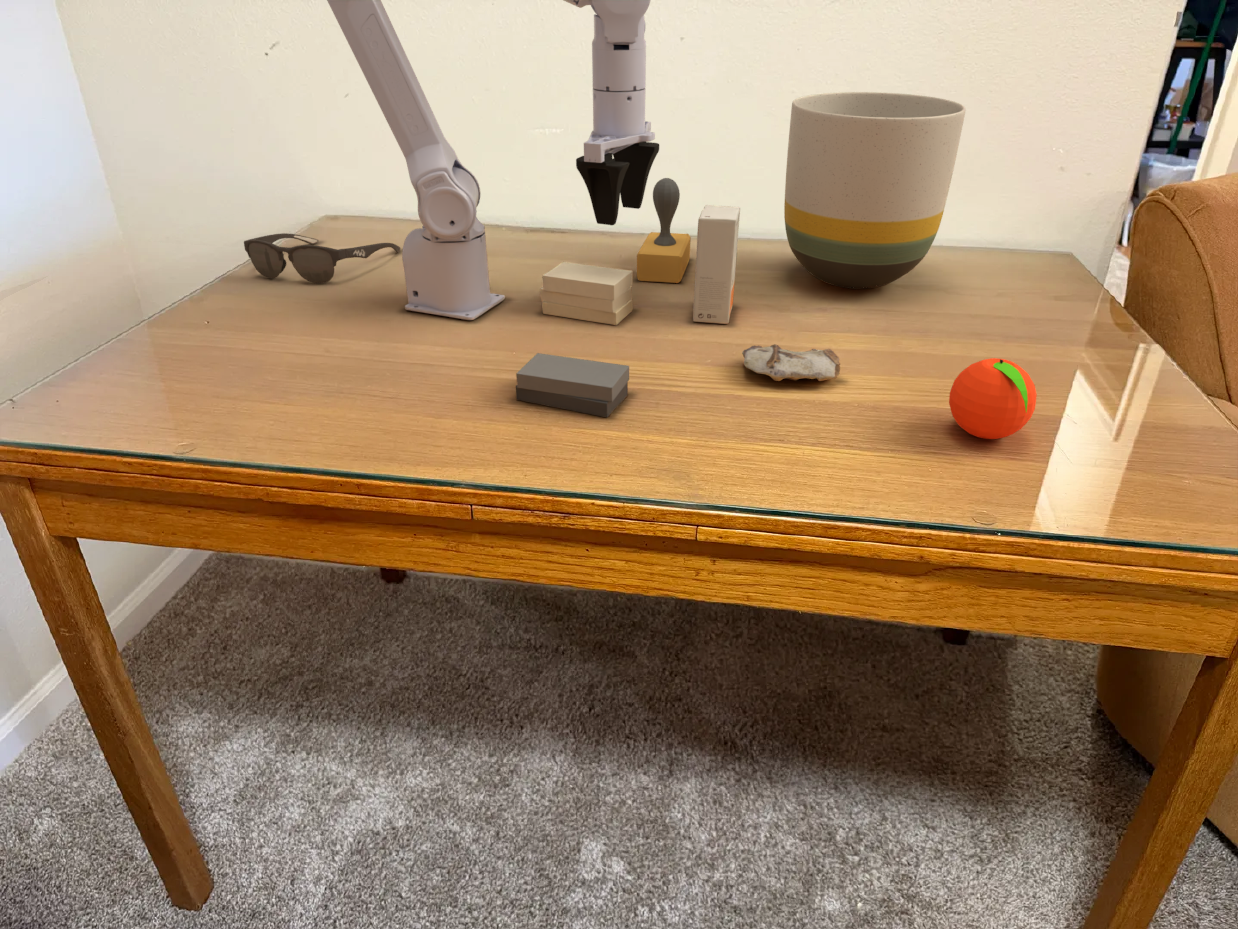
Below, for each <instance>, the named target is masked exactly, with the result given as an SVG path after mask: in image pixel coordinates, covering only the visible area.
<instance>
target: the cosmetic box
mask: <svg viewBox="0 0 1238 929" xmlns="http://www.w3.org/2000/svg"><path fill="white" fill-rule="evenodd" d="M740 215H741V207H740V206H731V205H730V206H728V205H714V204H713V205H712V204H705V205H704V207H703V209H702V210H701V212H700V215H699V217H698V219H697V220H698V221H697V233H696V236H697V237H696V256H695V257H696V258H695V274H694V290H693V293H694V294H693V307H692V308H693V311H692V321H693V322H695V323H709V324H720V325H721V324H722V325H728V324H729V322H730V317H731V313H732V309H733V306H734V296H735V294H734V293H735V282H736V270H737V256H738V243H739V232H740Z"/></svg>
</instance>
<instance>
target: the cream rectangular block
mask: <svg viewBox="0 0 1238 929" xmlns="http://www.w3.org/2000/svg"><path fill="white" fill-rule="evenodd" d="M542 287H543V290H545V291H552V292H558V293H565V294H572V295H579V296H586V297H593V298H600V299H606V300H613V301H614V300H615V299H617V298H618V297H619V296H620V295H622V294H623V293H624V292H625V291H626V290H628V289H629V288H630V287H631V288H632V287H633V270H630V269H629V270H628V269H623V268H614V267H608V266H598V265H591V264H584V263H576V262H569V261H562V262H561V263H559V264H558V265H556V266H554V267H553V268H552V269H550V270H548V271H547V272H545V273H544V274H542Z"/></svg>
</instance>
